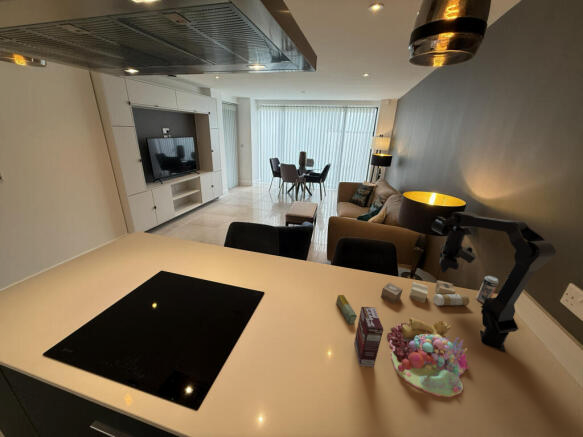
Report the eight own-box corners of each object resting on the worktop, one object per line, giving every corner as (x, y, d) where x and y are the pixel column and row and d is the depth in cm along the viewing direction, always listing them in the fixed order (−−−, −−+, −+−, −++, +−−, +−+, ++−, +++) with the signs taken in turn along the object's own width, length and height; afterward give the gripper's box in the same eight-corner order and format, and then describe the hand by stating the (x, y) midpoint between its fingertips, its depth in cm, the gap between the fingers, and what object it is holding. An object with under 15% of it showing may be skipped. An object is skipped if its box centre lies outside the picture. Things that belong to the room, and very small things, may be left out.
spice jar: (477, 301, 102) (486, 279, 98) (474, 295, 106) (484, 273, 102) (490, 305, 100) (500, 282, 96) (487, 299, 104) (497, 277, 100)
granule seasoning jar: (459, 300, 103) (431, 300, 101) (463, 291, 101) (434, 292, 100) (468, 307, 98) (438, 307, 97) (471, 298, 97) (441, 299, 96)
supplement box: (353, 342, 79) (360, 305, 73) (367, 343, 79) (376, 307, 73) (358, 366, 71) (367, 327, 65) (374, 367, 71) (384, 328, 65)
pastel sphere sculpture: (381, 322, 89) (385, 303, 85) (446, 332, 86) (454, 313, 82) (398, 389, 66) (406, 366, 62) (489, 407, 62) (502, 384, 59)
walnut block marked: (393, 304, 98) (396, 294, 96) (380, 297, 102) (383, 287, 100) (400, 298, 102) (402, 288, 100) (387, 291, 106) (389, 282, 104)
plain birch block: (424, 303, 100) (427, 293, 98) (409, 297, 102) (411, 288, 101) (424, 295, 105) (427, 286, 103) (410, 290, 107) (413, 281, 106)
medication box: (354, 324, 87) (357, 316, 85) (348, 324, 86) (351, 316, 85) (341, 301, 98) (343, 294, 96) (335, 302, 97) (337, 294, 96)
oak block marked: (452, 300, 102) (455, 291, 100) (436, 296, 104) (440, 287, 102) (449, 292, 107) (452, 283, 106) (434, 289, 109) (437, 279, 108)
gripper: (481, 255, 84) (467, 290, 90) (475, 238, 99) (464, 268, 105) (445, 246, 90) (434, 280, 95) (445, 231, 105) (436, 260, 110)
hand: (443, 272), depth 101 cm, fingers closed
